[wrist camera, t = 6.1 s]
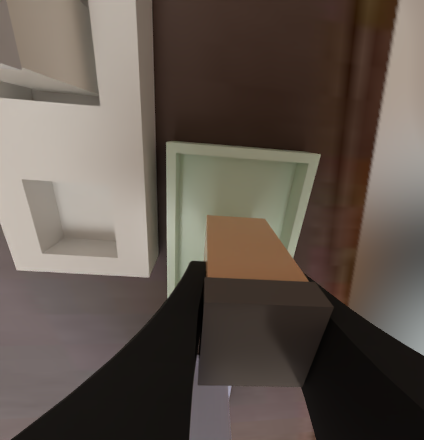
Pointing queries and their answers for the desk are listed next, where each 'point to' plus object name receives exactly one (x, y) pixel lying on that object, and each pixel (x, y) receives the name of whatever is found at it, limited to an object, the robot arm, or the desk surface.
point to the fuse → (48, 46)
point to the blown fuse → (256, 308)
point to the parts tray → (232, 194)
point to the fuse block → (86, 158)
